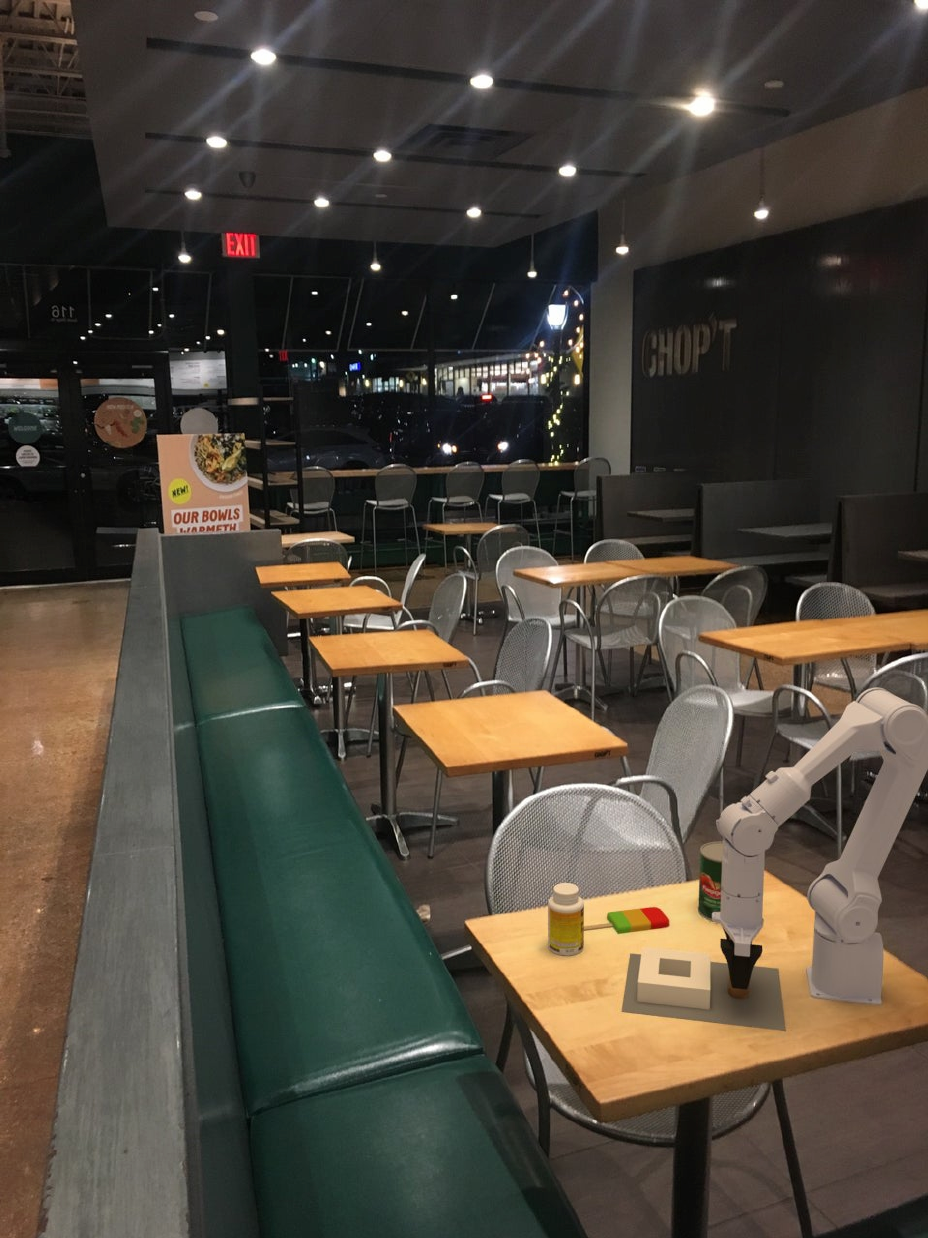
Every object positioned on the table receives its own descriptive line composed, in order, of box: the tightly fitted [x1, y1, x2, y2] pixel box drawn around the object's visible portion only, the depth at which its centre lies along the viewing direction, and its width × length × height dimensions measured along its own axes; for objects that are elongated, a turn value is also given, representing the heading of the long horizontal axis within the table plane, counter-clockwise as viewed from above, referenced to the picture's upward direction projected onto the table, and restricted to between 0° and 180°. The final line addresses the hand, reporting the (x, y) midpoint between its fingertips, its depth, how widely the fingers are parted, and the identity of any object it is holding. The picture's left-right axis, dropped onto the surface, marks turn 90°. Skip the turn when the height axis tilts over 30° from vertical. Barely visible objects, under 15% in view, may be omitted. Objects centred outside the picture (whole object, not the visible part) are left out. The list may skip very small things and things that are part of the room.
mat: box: [621, 953, 787, 1032], centre depth 146 cm, size 22×16×1 cm
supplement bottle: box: [547, 882, 585, 957], centre depth 158 cm, size 6×6×10 cm
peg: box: [728, 938, 750, 999], centre depth 144 cm, size 3×3×9 cm
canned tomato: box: [697, 841, 723, 922], centre depth 168 cm, size 8×8×11 cm
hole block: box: [637, 946, 711, 1010], centre depth 147 cm, size 10×10×3 cm
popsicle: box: [584, 906, 670, 935], centre depth 166 cm, size 6×15×2 cm, turn 102°
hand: (738, 977), depth 145 cm, fingers open, 5 cm apart
